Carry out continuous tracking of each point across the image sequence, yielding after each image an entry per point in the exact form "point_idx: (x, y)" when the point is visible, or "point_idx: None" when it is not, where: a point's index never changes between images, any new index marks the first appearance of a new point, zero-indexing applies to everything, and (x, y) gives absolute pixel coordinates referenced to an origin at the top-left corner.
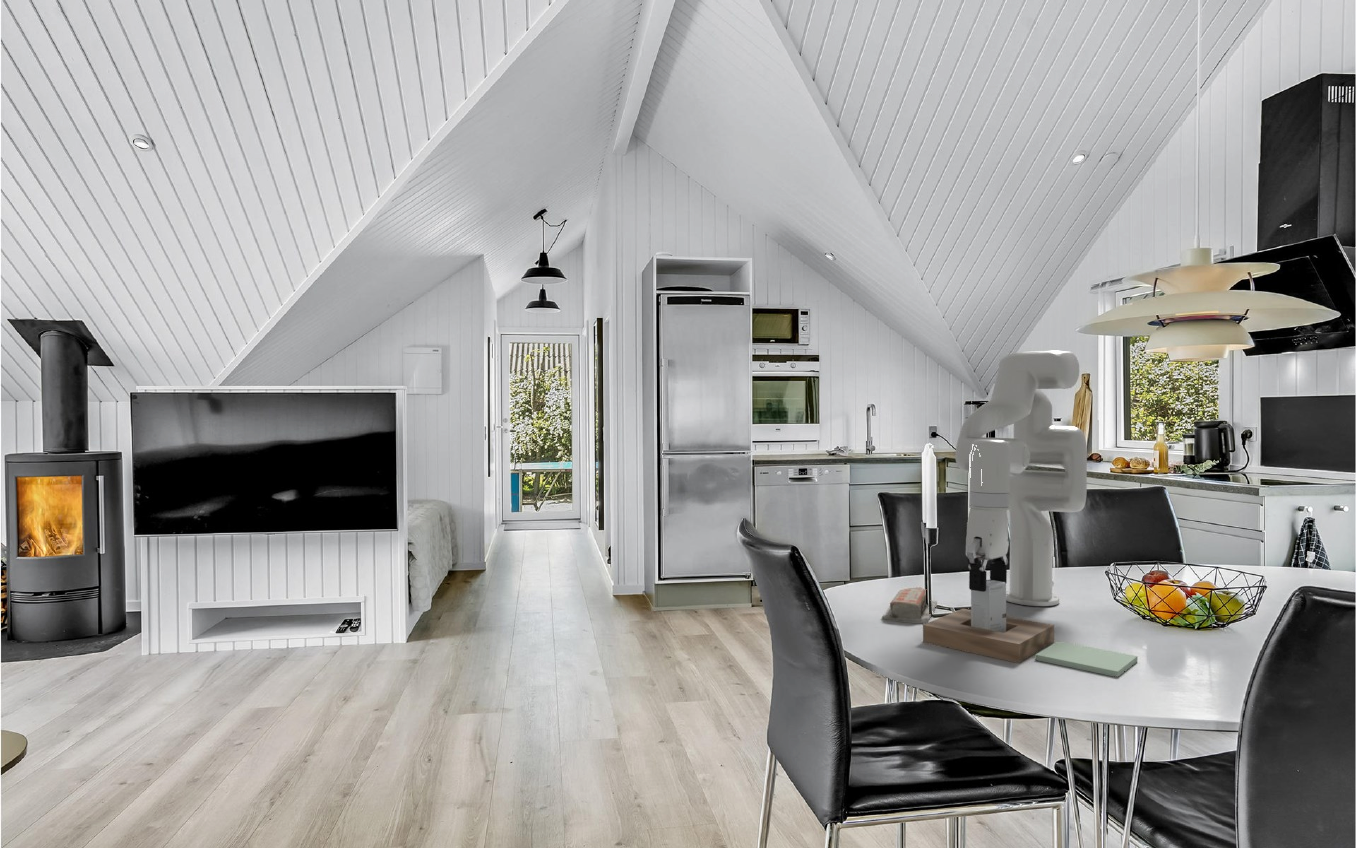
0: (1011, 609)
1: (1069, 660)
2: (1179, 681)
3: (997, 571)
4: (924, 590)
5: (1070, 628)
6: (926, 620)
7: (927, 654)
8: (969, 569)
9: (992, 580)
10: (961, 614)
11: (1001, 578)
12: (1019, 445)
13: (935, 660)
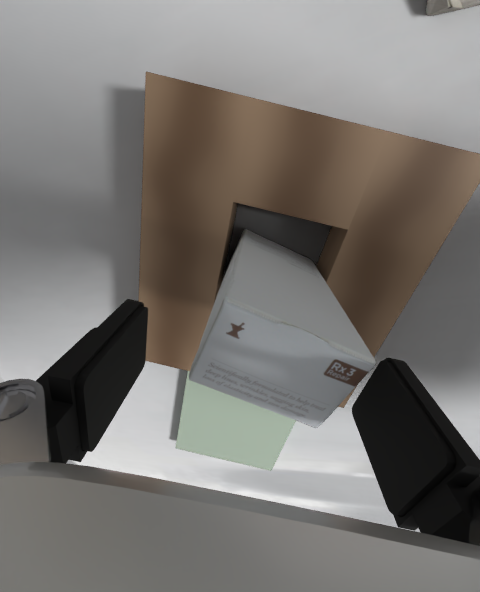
0: None
1: (188, 404)
2: (208, 483)
3: (393, 445)
4: None
5: (471, 399)
6: (436, 2)
7: (73, 145)
8: (19, 381)
9: (343, 384)
10: (380, 177)
11: (368, 424)
12: None
13: (46, 180)
